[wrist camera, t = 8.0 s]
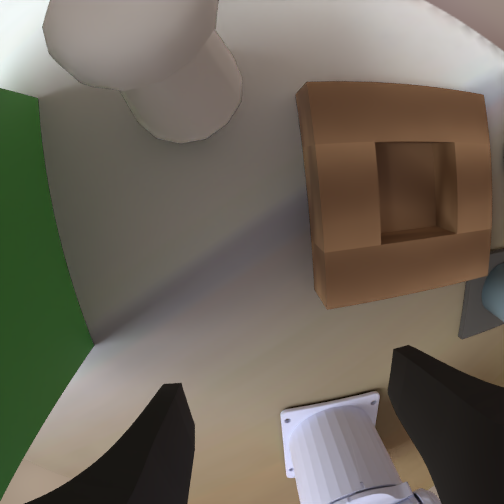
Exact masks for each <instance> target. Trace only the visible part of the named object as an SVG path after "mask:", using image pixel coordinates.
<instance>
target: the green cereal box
mask: <svg viewBox="0 0 504 504" xmlns="http://www.w3.org/2000/svg"><path fill="white" fill-rule="evenodd" d="M93 346H94V344H93V341H92V339H91V336H90V334H89V331H88V328H87V326H86V323H85V320H84V317H83V315H82V312H81V309H80V306H79V303H78V300H77V297H76V294H75V291H74V288H73V284H72V281H71V278H70V274H69V271H68V268H67V264H66V261H65V257H64V253H63V249H62V246H61V242H60V238H59V234H58V229H57V225H56V221H55V216H54V212H53V207H52V202H51V197H50V191H49V186H48V180H47V174H46V168H45V161H44V154H43V146H42V138H41V128H40V117H39V104H38V98H35V97H32V96H28V95H24V94H21V93H17V92H13V91H9V90H5V89H1V88H0V501H1V499H2V497H3V494H4V493H5V491H6V489H7V487H8V485H9V483H10V481H11V479H12V477H13V476H14V474H15V472H16V470H17V468H18V466H19V465H20V463H21V461H22V459H23V458H24V456H25V454H26V452H27V451H28V449H29V447H30V445H31V444H32V442H33V440H34V439H35V437H36V435H37V434H38V432H39V430H40V429H41V427H42V425H43V424H44V422H45V420H46V419H47V417H48V415H49V414H50V412H51V411H52V409H53V407H54V406H55V404H56V403H57V401H58V399H59V398H60V396H61V395H62V393H63V392H64V390H65V388H66V387H67V385H68V384H69V382H70V381H71V379H72V378H73V376H74V375H75V373H76V372H77V370H78V369H79V367H80V366H81V364H82V363H83V361H84V360H85V358H86V357H87V355H88V354H89V352H90V351H91V349H92V348H93Z"/></svg>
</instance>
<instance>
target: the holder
mask: <svg viewBox="0 0 504 504" xmlns="http://www.w3.org/2000/svg"><path fill="white" fill-rule="evenodd" d="M296 102H297V109H298V117H299V124H300V132H301V141H302V149H303V158H304V167H305V176H306V186H307V196H308V207H309V219H310V231H311V243H312V257H313V272H314V289H315V291H316V293H317V294H318V296H319V298H320V299H321V301H322V302H323V304H324V306H325V307H326V309H327V310H328V309H334V308H339V307H345V306H351V305H356V304H362V303H367V302H372V301H377V300H383V299H388V298H393V297H397V296H402V295H407V294H412V293H416V292H421V291H426V290H430V289H434V288H439V287H443V286H447V285H452V284H456V283H460V282H464V281H468V280H472V279H476V278H480V277H484V276H488V268H489V258H490V245H491V228H492V170H491V153H490V141H489V131H488V122H487V114H486V107H485V101H484V95H482V94H476V93H471V92H465V91H459V90H452V89H445V88H437V87H429V86H419V85H409V84H396V83H379V82H348V81H325V82H306V83H305V84H304V85H303V86H302V88H301V89H300V90H299V91H298V92H297V93H296Z"/></svg>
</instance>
